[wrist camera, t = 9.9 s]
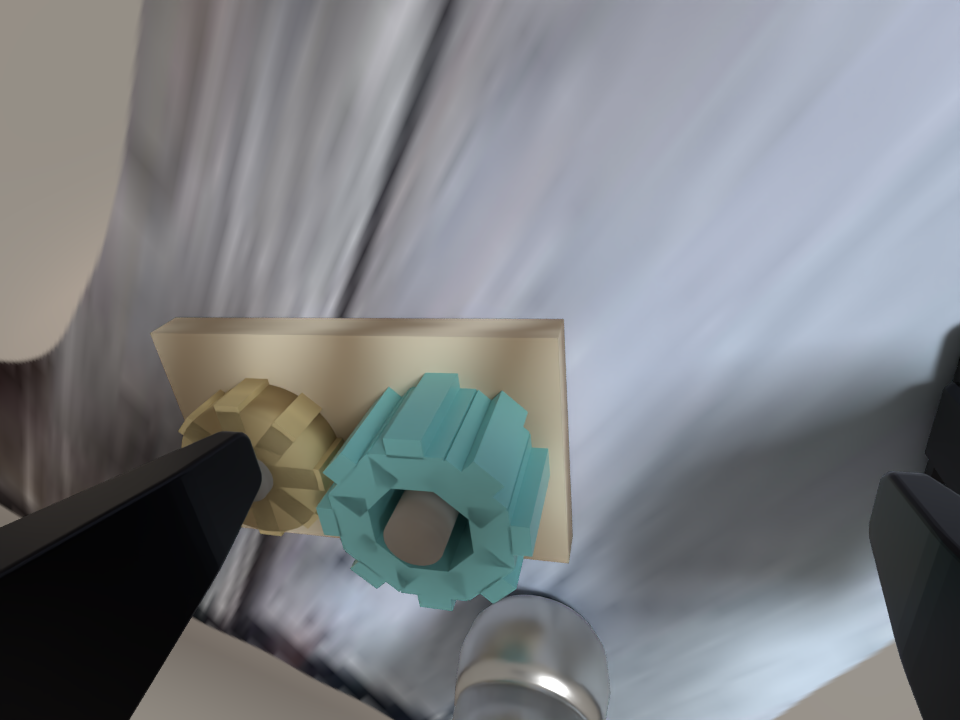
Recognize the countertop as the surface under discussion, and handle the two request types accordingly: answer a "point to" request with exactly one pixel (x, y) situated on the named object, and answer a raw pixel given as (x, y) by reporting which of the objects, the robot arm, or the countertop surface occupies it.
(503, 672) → the plastic bottle
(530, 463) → the teal gear
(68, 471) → the countertop surface
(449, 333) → the gear board
